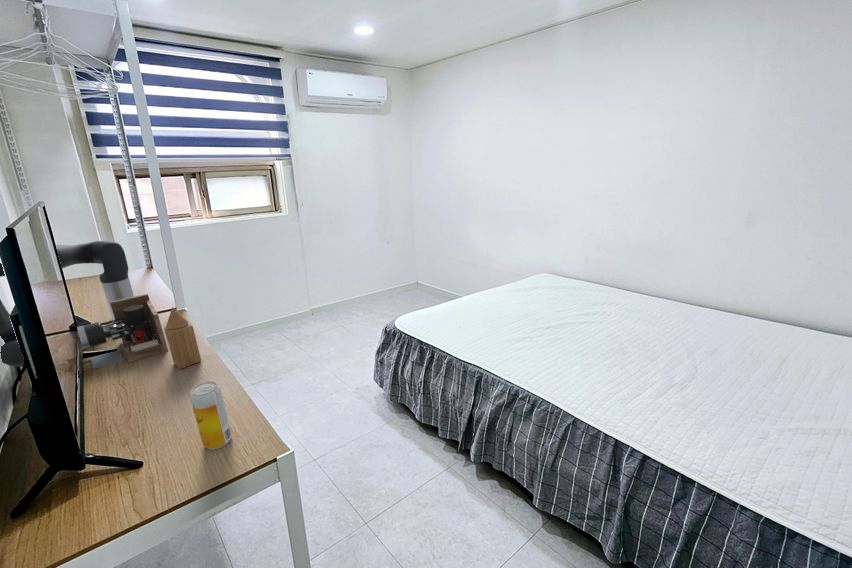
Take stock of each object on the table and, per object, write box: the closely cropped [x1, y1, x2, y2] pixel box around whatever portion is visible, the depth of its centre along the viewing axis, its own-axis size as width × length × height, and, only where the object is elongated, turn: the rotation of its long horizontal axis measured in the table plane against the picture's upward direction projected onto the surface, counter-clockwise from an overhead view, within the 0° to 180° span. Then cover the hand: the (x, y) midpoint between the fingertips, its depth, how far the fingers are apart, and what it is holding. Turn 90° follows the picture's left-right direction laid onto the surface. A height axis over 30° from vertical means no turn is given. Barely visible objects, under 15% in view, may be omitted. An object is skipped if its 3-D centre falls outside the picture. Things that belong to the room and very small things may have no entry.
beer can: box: [189, 380, 232, 451], centre depth 90 cm, size 6×6×15 cm
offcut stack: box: [130, 338, 160, 353], centre depth 137 cm, size 4×8×3 cm, turn 131°
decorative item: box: [164, 306, 202, 370], centre depth 126 cm, size 7×7×20 cm
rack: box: [110, 293, 169, 363], centre depth 139 cm, size 20×11×16 cm, turn 41°
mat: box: [90, 349, 124, 370], centre depth 133 cm, size 9×8×1 cm
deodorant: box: [123, 305, 154, 346], centre depth 139 cm, size 6×6×15 cm
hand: (146, 321), depth 140 cm, fingers closed on deodorant, 6 cm apart
